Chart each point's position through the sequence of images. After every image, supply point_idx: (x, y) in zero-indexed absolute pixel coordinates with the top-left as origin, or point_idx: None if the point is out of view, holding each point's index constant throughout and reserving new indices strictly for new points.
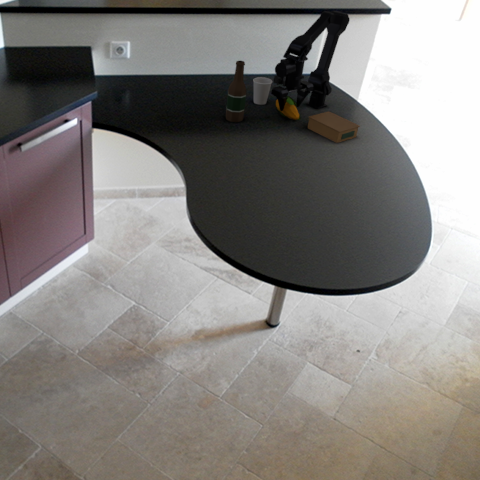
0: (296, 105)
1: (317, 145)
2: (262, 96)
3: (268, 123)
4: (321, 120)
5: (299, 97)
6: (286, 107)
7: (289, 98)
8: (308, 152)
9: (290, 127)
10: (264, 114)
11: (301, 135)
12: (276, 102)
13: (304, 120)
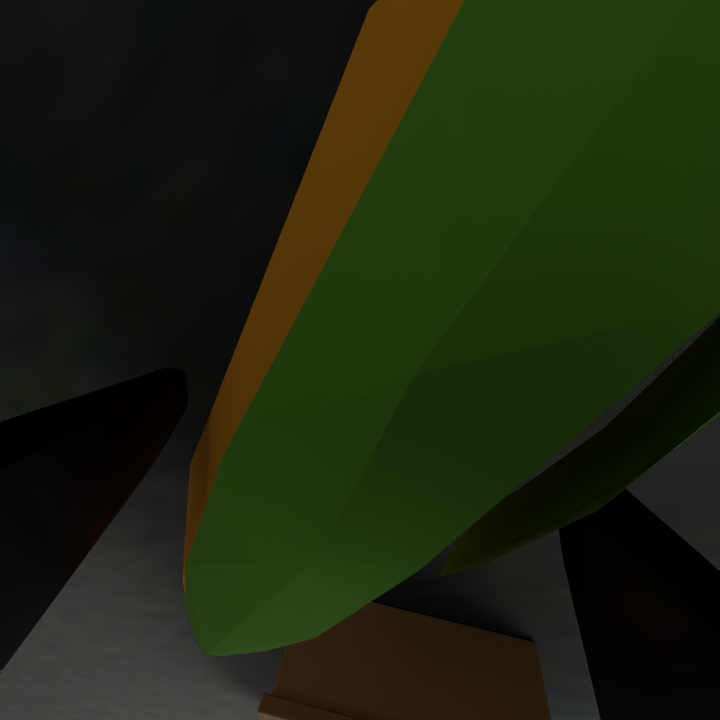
0: (469, 541)
1: (168, 668)
2: None
3: (22, 321)
4: None
5: (669, 708)
6: (199, 493)
7: (391, 548)
8: (72, 659)
9: (185, 500)
10: (118, 52)
11: (169, 592)
12: (358, 41)
13: None
